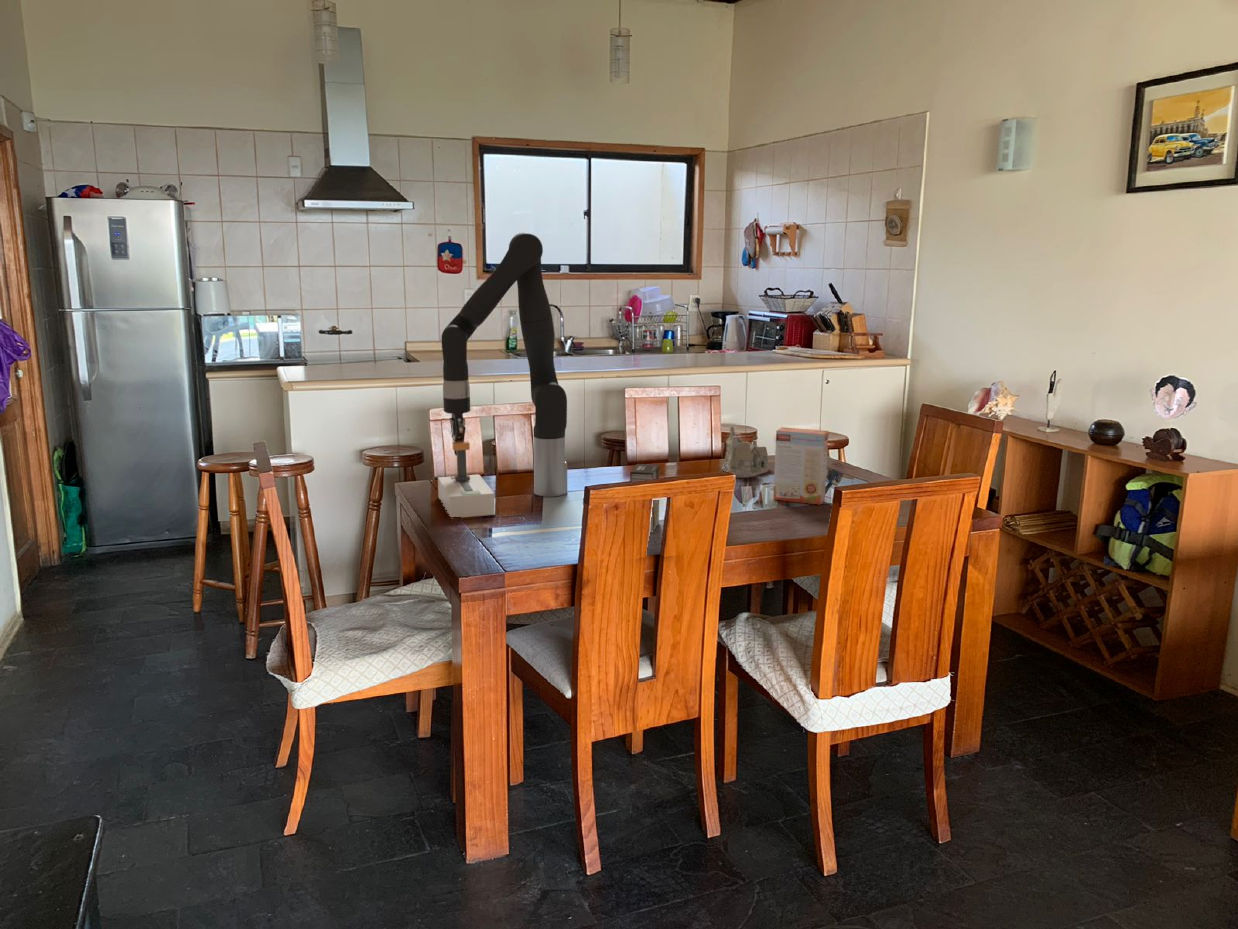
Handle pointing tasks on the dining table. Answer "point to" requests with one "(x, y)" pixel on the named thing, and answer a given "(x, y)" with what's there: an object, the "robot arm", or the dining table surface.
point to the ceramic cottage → (744, 457)
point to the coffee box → (647, 473)
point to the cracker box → (800, 465)
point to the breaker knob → (461, 460)
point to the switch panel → (466, 496)
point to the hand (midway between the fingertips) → (458, 454)
